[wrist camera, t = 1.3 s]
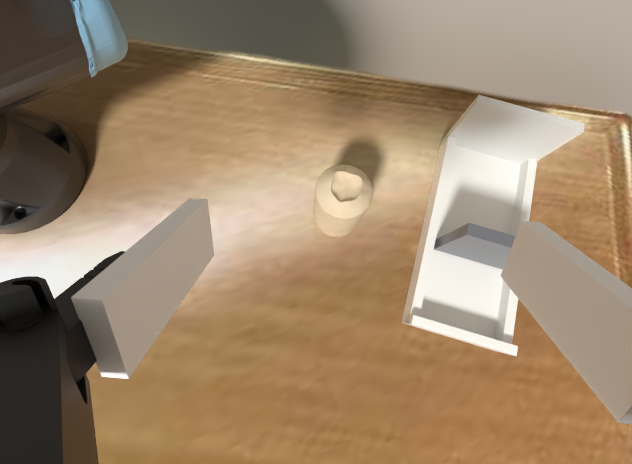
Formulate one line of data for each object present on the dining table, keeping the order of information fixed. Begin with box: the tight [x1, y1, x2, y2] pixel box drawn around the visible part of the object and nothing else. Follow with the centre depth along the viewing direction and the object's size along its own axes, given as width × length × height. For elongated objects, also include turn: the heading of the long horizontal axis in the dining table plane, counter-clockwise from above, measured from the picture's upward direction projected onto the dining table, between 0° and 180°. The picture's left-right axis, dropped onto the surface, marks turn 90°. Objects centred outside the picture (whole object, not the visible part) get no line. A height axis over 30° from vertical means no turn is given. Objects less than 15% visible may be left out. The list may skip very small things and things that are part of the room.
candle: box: [314, 165, 373, 237], centre depth 33 cm, size 6×6×10 cm
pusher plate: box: [434, 223, 516, 269], centre depth 32 cm, size 8×1×8 cm, turn 74°
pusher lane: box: [401, 95, 585, 356], centre depth 33 cm, size 11×24×9 cm, turn 164°
